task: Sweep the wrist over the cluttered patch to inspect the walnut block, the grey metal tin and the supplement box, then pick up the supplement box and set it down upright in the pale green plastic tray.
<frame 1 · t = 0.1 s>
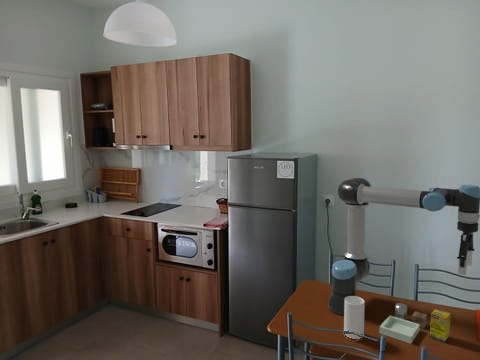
hand: (465, 269, 154), 28 cm above the table, fingers open, 13 cm apart
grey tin: (400, 319, 168), on the table
supplement box: (439, 337, 153), on the table
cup: (353, 335, 156), on the table
tray: (399, 331, 157), on the table
walnut block: (419, 325, 163), on the table
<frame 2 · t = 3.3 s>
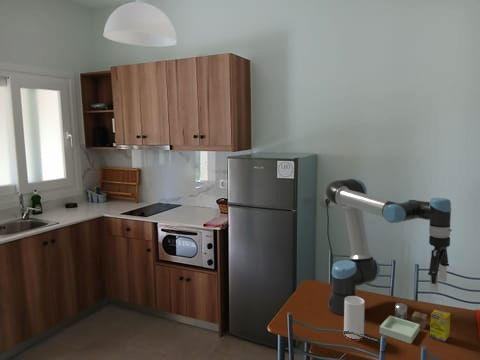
hand: (438, 285, 149), 23 cm above the table, fingers open, 13 cm apart
nothing on the table moved.
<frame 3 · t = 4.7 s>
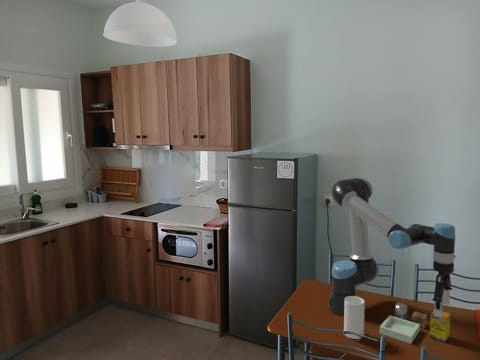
hand: (441, 310, 151), 13 cm above the table, fingers open, 13 cm apart
nothing on the table moved.
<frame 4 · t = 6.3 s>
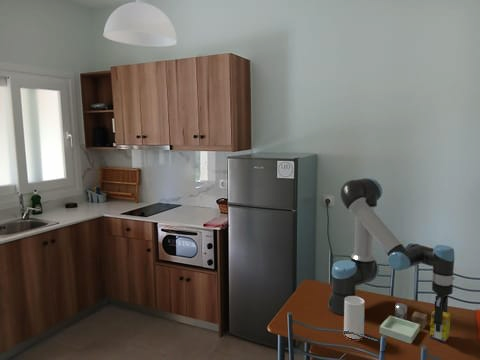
hand: (439, 334, 152), 1 cm above the table, fingers closed on supplement box, 6 cm apart
supplement box: (439, 338, 153), on the table, touching gripper
everything else where it was.
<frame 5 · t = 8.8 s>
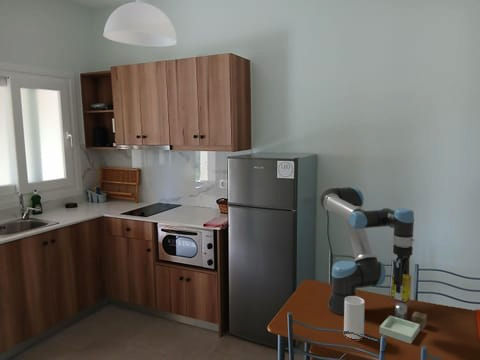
hand: (400, 296, 155), 16 cm above the table, fingers closed on supplement box, 6 cm apart
supplement box: (400, 299, 156), point 15 cm above the table, touching gripper
everything else where it was.
when the fingers open (4 cm above the table, at t = 11.3 s): supplement box drops 1 cm, resting on tray.
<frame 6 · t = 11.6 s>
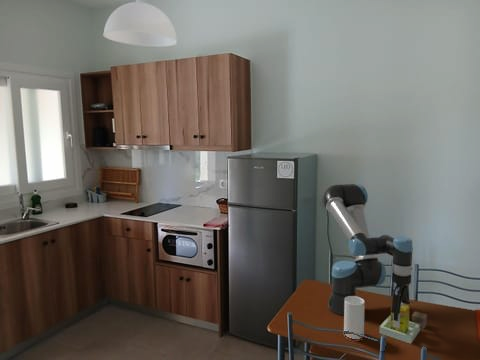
hand: (399, 322, 157), 5 cm above the table, fingers open, 9 cm apart
supplement box: (399, 330, 157), point 1 cm above the table, touching tray
everything else where it was.
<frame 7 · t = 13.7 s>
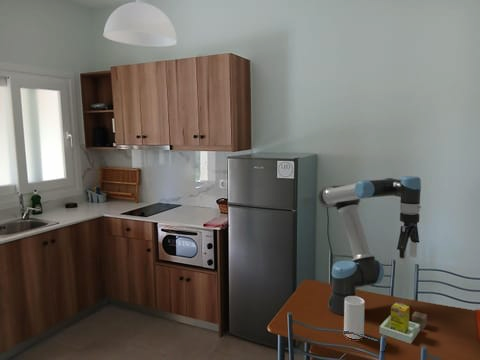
hand: (407, 260, 155), 32 cm above the table, fingers open, 13 cm apart
nothing on the table moved.
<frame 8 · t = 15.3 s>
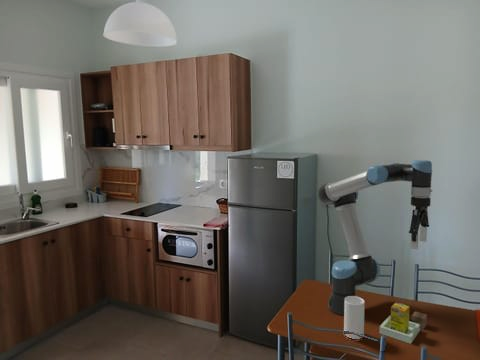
hand: (418, 244, 155), 39 cm above the table, fingers open, 13 cm apart
nothing on the table moved.
at the end: supplement box inside the target area on the tray (0.2 cm from its centre), point 0.8 cm above the tray's base; supplement box tilted 0°; the gripper is holding nothing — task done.
